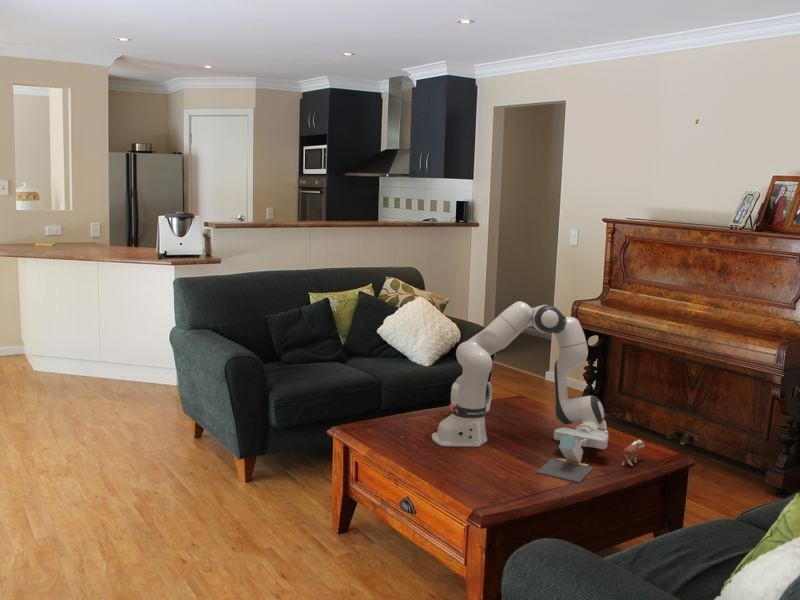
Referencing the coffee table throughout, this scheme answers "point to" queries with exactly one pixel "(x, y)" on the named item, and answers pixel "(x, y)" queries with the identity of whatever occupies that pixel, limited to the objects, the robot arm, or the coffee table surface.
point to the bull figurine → (632, 451)
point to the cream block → (571, 448)
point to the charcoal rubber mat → (565, 470)
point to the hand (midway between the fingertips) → (574, 442)
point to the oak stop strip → (572, 462)
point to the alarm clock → (455, 393)
